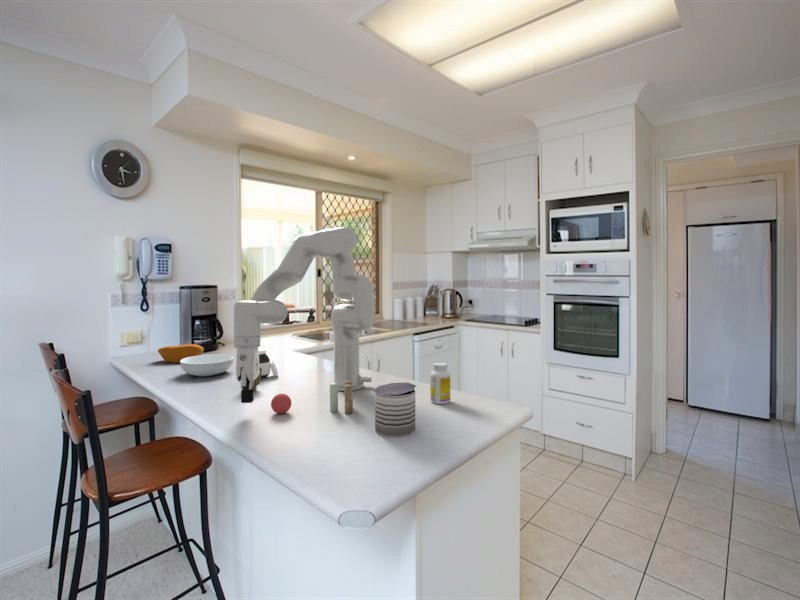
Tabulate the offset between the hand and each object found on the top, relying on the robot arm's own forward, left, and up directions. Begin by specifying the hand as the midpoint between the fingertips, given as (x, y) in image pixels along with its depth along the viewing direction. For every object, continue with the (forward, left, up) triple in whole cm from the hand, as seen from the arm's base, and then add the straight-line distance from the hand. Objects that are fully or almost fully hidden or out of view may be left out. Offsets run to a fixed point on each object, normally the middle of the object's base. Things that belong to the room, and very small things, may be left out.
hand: (247, 402), depth 124 cm
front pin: (-26, 0, -4) cm, 26 cm away
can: (-43, +18, -4) cm, 47 cm away
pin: (-30, +2, -4) cm, 31 cm away
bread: (+53, -90, -4) cm, 105 cm away
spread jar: (+5, -49, -4) cm, 50 cm away
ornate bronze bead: (+5, -28, -4) cm, 29 cm away
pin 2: (-30, -3, -4) cm, 31 cm away
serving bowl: (+30, -58, -4) cm, 66 cm away
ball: (-10, 0, -1) cm, 10 cm away
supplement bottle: (-61, -5, -4) cm, 61 cm away
